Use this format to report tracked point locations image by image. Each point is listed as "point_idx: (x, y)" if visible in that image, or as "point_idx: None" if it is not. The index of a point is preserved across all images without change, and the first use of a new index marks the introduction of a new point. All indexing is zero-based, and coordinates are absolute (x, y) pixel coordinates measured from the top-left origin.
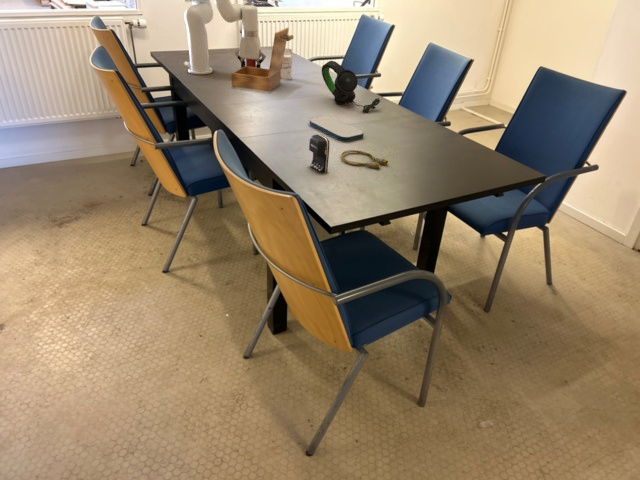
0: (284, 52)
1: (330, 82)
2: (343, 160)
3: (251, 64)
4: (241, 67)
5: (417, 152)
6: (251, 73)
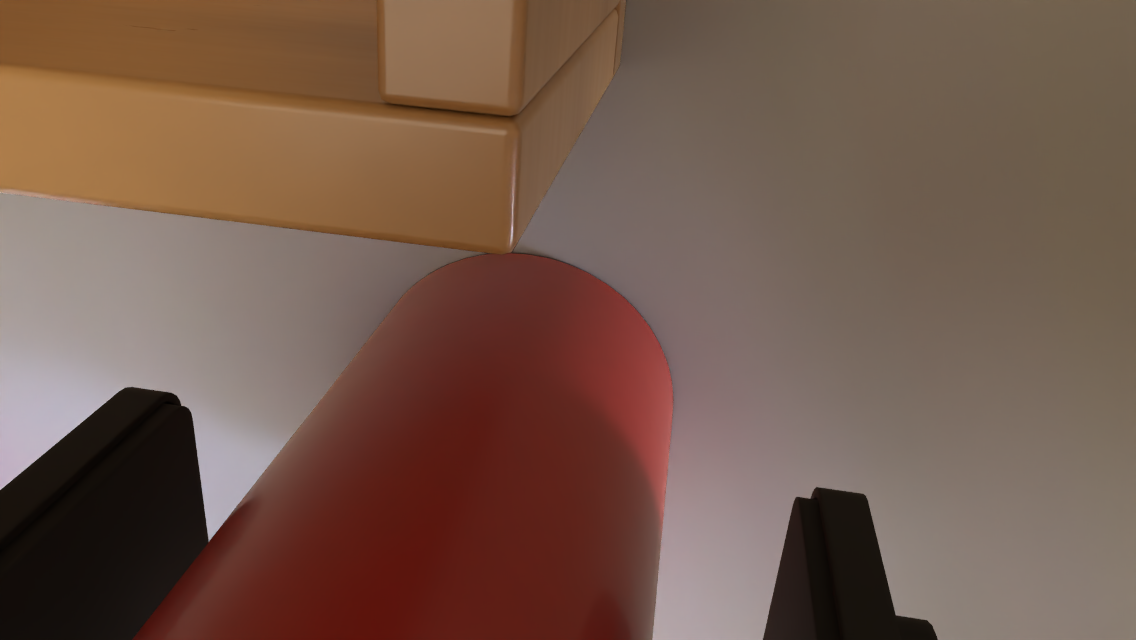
0: None
1: None
2: None
3: (206, 608)
4: (913, 630)
5: None
6: (179, 2)
